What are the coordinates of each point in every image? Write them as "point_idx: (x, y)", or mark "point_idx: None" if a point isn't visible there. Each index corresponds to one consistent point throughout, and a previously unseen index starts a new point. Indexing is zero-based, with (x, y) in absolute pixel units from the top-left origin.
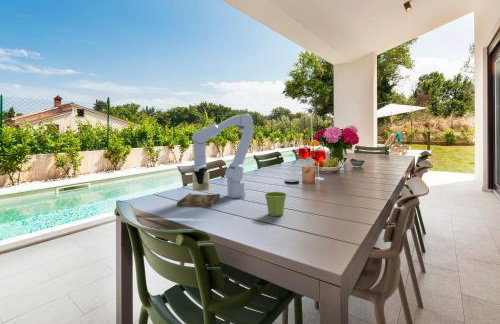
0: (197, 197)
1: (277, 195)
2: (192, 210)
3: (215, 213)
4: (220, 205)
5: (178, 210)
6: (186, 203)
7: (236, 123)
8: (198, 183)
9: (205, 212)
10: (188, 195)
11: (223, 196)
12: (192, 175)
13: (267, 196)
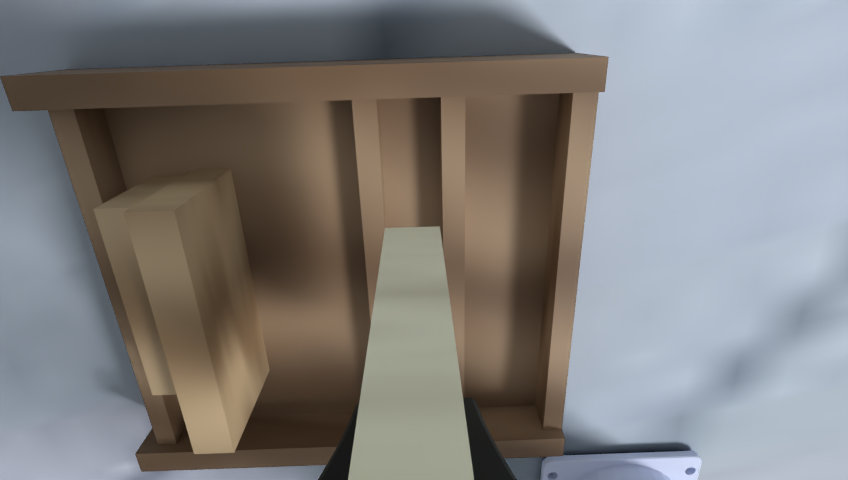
0: (156, 348)
1: None
2: (69, 271)
3: (65, 472)
4: None
5: (4, 118)
6: (84, 201)
7: None
8: (354, 417)
9: (58, 399)
10: (133, 230)
11: (677, 410)
12: (356, 447)
13: None
